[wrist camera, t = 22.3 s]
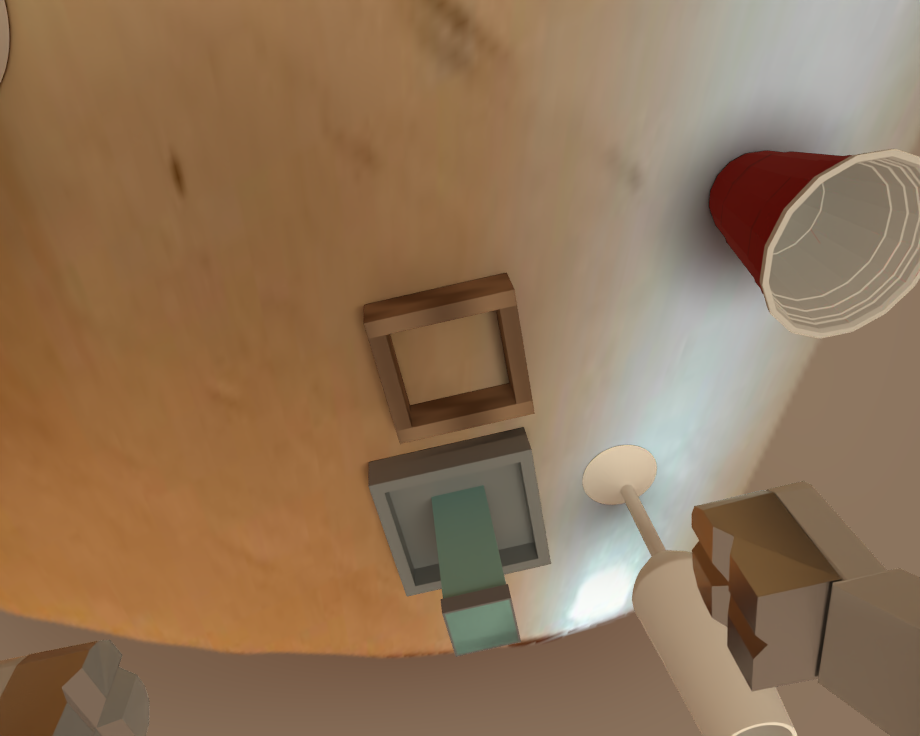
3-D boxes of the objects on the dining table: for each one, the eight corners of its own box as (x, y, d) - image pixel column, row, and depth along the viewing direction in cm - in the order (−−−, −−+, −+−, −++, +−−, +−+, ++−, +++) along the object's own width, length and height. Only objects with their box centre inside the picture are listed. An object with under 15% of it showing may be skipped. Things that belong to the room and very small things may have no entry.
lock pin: (440, 536, 58) (455, 656, 48) (429, 496, 55) (442, 613, 45) (494, 524, 58) (520, 641, 48) (485, 483, 55) (510, 597, 45)
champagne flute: (579, 453, 56) (699, 726, 36) (656, 437, 56) (820, 700, 36) (585, 511, 60) (697, 790, 39) (657, 496, 60) (808, 766, 39)
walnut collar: (398, 421, 52) (400, 443, 50) (364, 304, 47) (363, 323, 45) (526, 392, 52) (534, 413, 50) (506, 272, 47) (514, 289, 45)
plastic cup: (795, 269, 50) (906, 344, 39) (659, 263, 48) (737, 339, 38) (850, 117, 44) (995, 157, 34) (699, 104, 43) (802, 143, 32)
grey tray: (405, 570, 61) (406, 596, 58) (368, 462, 54) (368, 486, 52) (543, 539, 61) (551, 563, 58) (523, 427, 54) (531, 449, 52)
